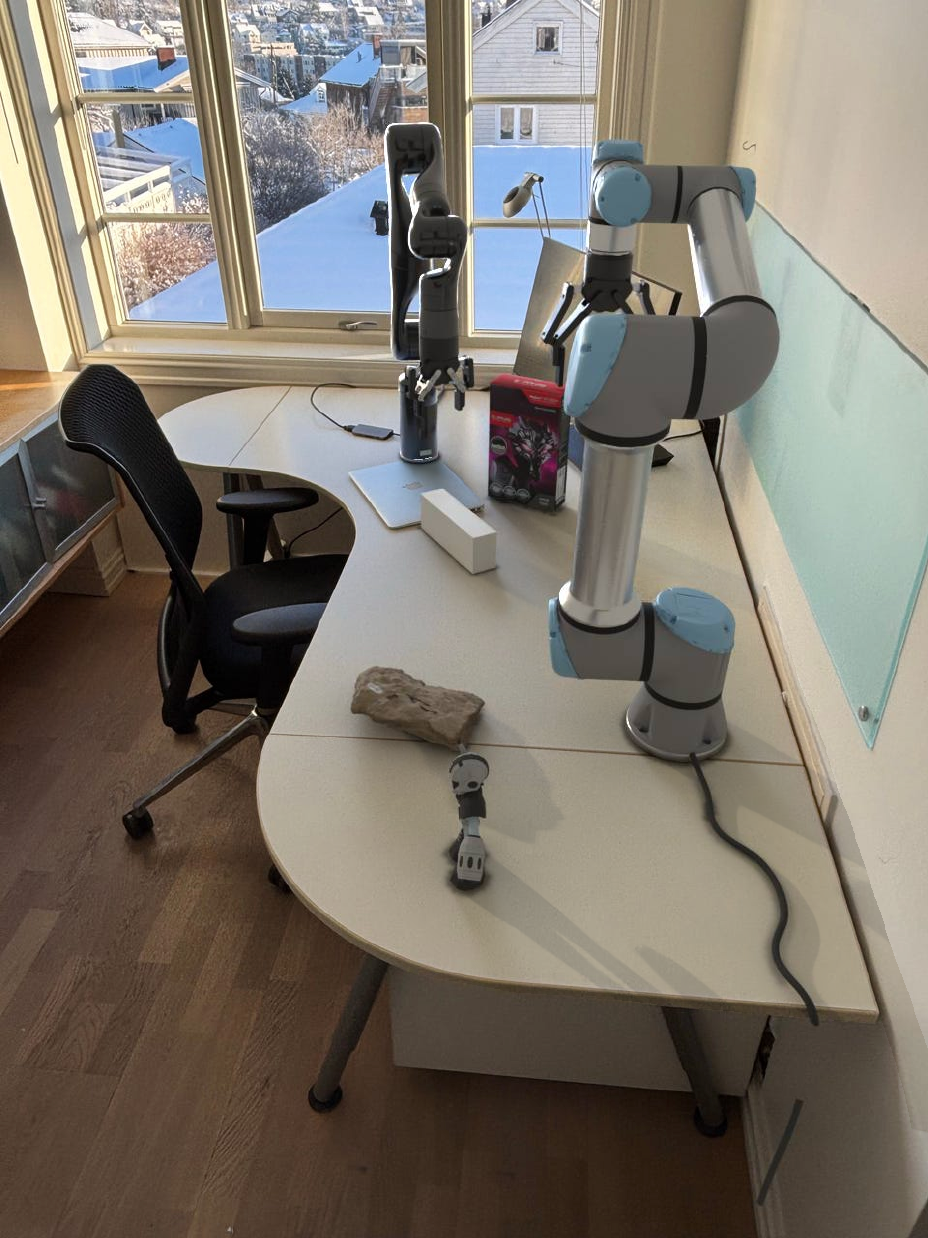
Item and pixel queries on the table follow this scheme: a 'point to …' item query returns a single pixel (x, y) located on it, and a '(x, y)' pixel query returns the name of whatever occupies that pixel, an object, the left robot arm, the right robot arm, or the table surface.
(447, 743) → the stone
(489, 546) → the bar
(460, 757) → the robot
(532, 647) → the table surface
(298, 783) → the table surface
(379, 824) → the table surface
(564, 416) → the graphics card box
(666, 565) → the table surface
